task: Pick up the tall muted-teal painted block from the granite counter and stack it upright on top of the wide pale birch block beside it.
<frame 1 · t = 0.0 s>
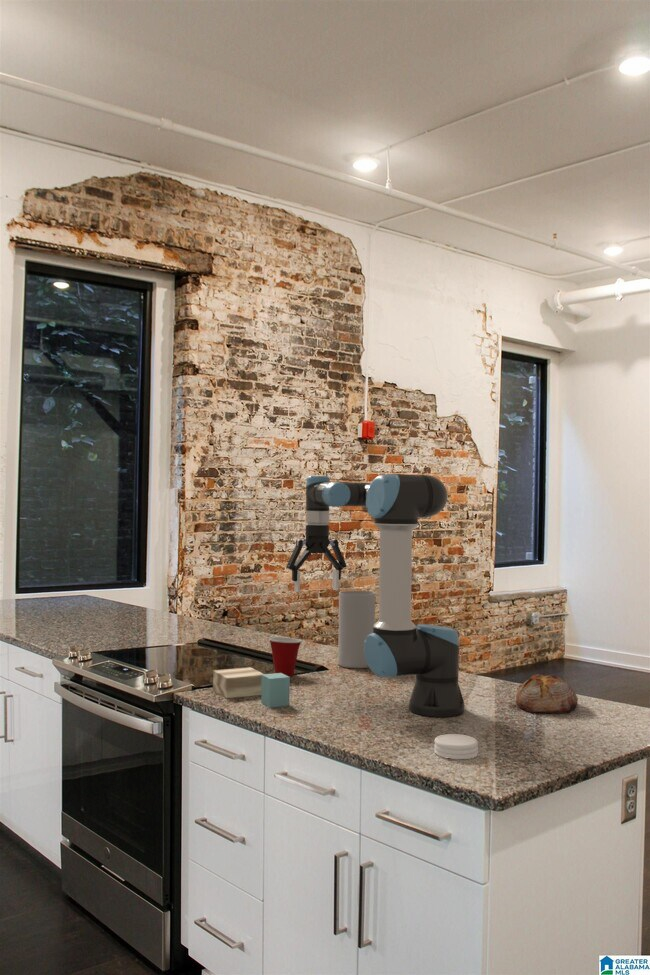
hand: (316, 590, 279), 28 cm above the worktop, fingers open, 13 cm apart
birch block: (238, 692, 260), on the worktop
plastic cup: (284, 675, 284), on the worktop
teal block: (275, 704, 246), on the worktop
cylinder vase: (356, 666, 302), on the worktop
coaster: (455, 755, 202), on the worktop
bread: (546, 708, 247), on the worktop
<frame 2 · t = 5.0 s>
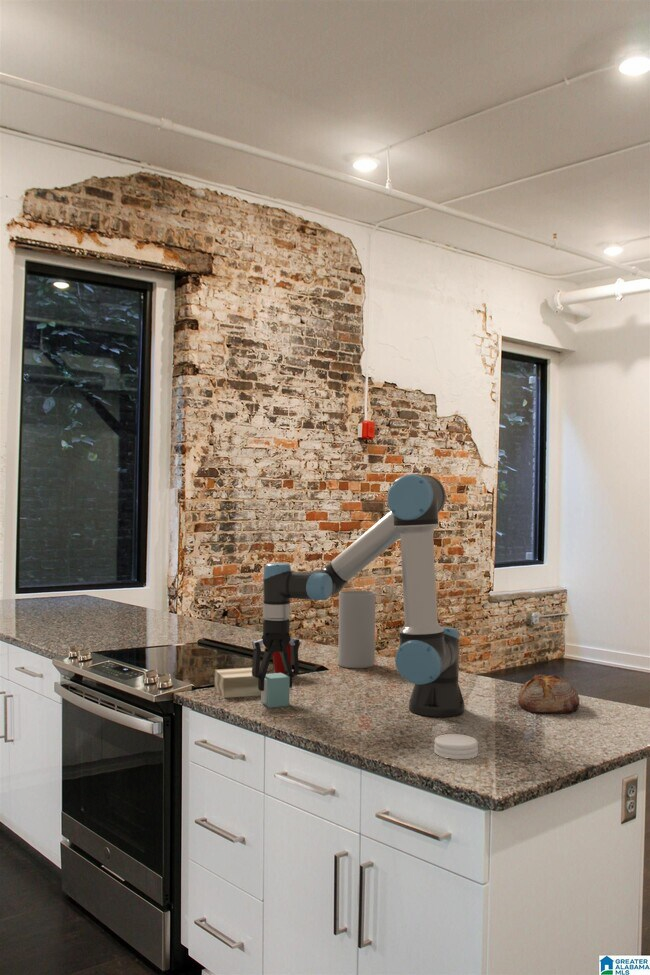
hand: (275, 700, 246), 1 cm above the worktop, fingers closed on teal block, 6 cm apart
teal block: (275, 704, 246), on the worktop, touching gripper
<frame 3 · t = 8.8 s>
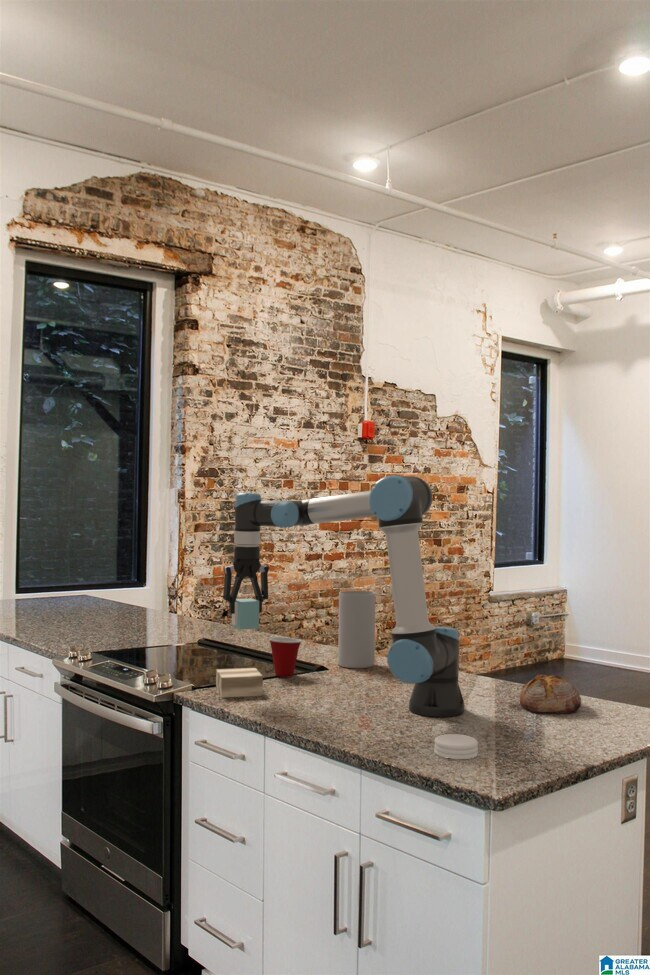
hand: (245, 624, 258), 20 cm above the worktop, fingers closed on teal block, 6 cm apart
teal block: (245, 627, 258), point 20 cm above the worktop, touching gripper
when the fingers open (8 cm above the worktop, at t = 13.0 s): teal block drops 2 cm, point 6 cm above the worktop.
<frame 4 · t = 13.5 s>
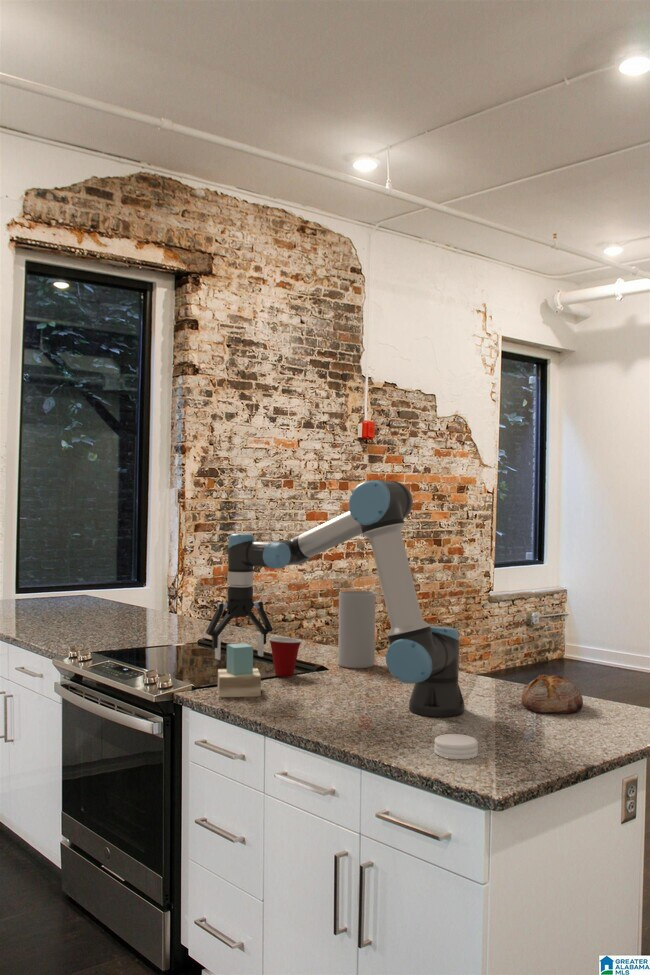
hand: (239, 657, 260), 10 cm above the worktop, fingers open, 13 cm apart
teal block: (239, 672, 260), point 6 cm above the worktop
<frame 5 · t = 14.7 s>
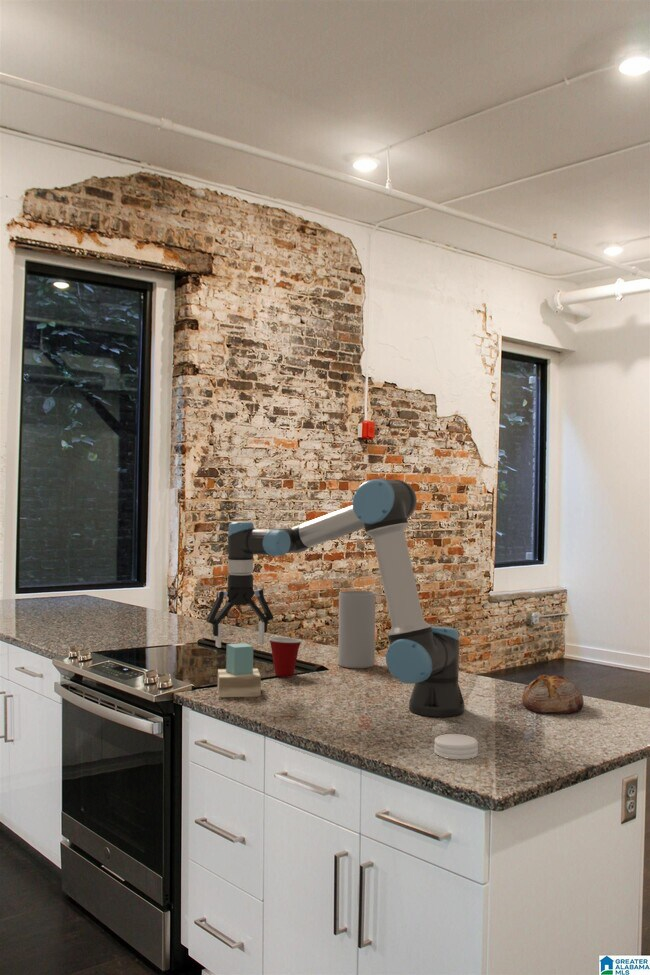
hand: (240, 645, 260), 14 cm above the worktop, fingers open, 13 cm apart
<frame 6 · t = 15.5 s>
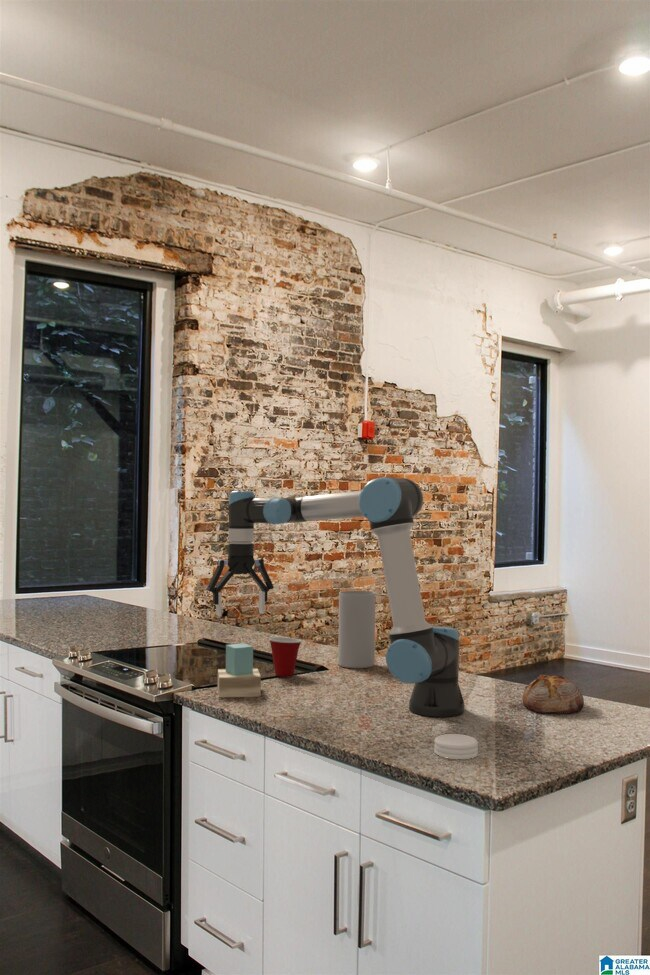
hand: (240, 614, 260), 23 cm above the worktop, fingers open, 13 cm apart
birch block: (238, 693, 260), on the worktop, touching teal block
teal block: (239, 672, 260), point 6 cm above the worktop, touching birch block
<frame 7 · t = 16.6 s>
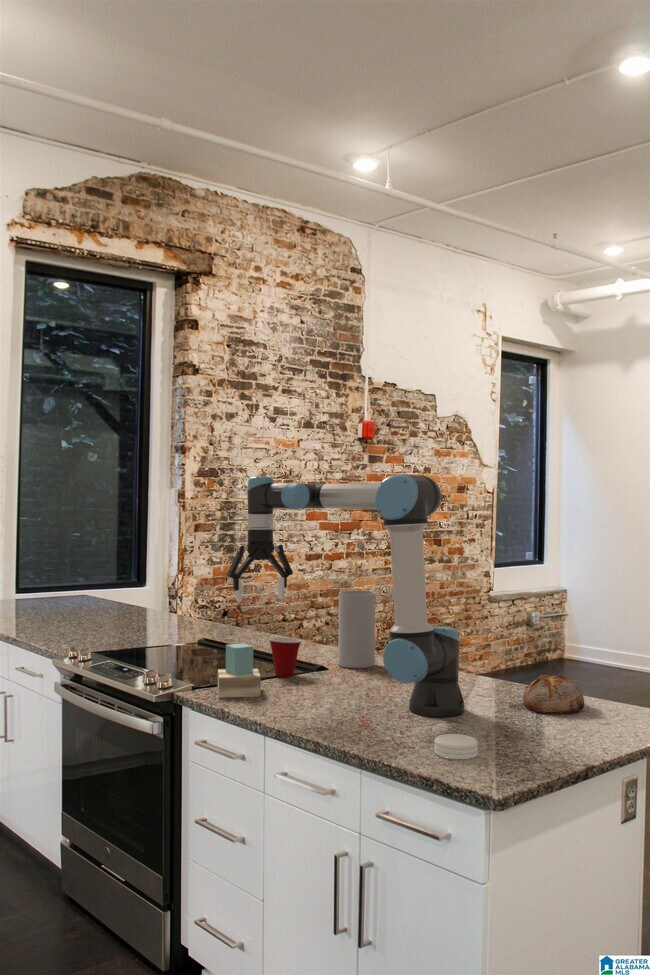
hand: (260, 600, 260), 27 cm above the worktop, fingers open, 13 cm apart
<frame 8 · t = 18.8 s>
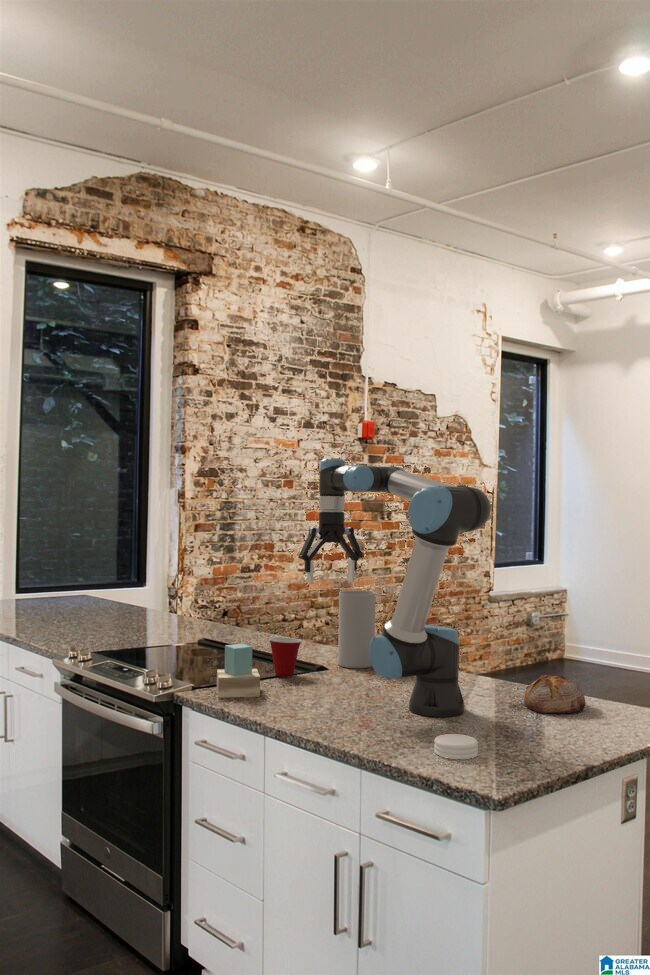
hand: (330, 582, 260), 33 cm above the worktop, fingers open, 13 cm apart
at the end: teal block inside the target area on the birch block (0.0 cm from its centre), point 6.0 cm above the birch block's base; teal block tilted 1°; the gripper is holding nothing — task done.
